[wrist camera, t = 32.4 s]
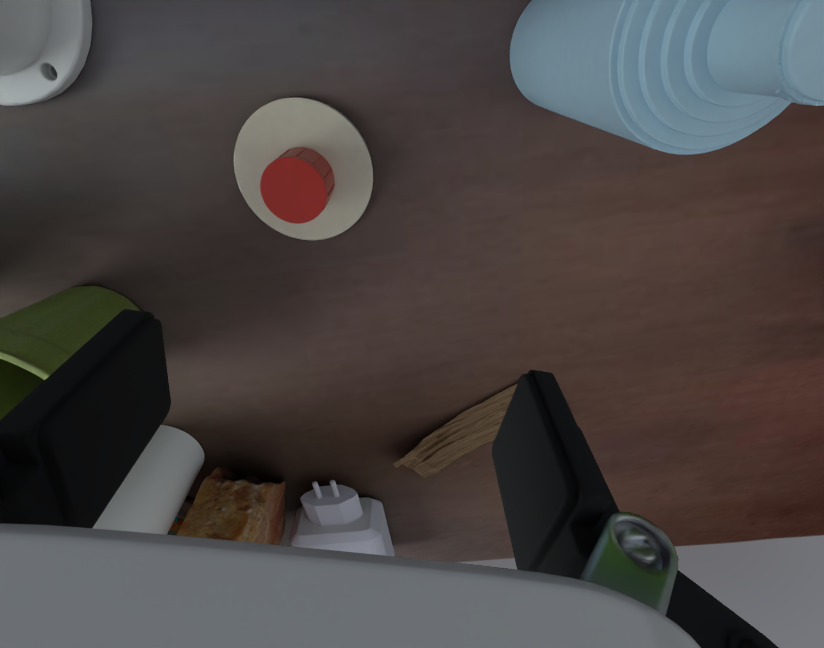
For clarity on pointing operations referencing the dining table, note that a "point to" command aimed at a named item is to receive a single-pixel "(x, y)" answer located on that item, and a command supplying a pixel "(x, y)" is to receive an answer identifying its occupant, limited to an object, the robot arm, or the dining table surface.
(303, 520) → the charger
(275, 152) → the coaster
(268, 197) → the cap
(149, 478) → the cylindrical container
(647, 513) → the dining table surface
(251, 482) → the stone
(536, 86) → the water bottle
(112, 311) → the plant pot
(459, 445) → the wood plank
